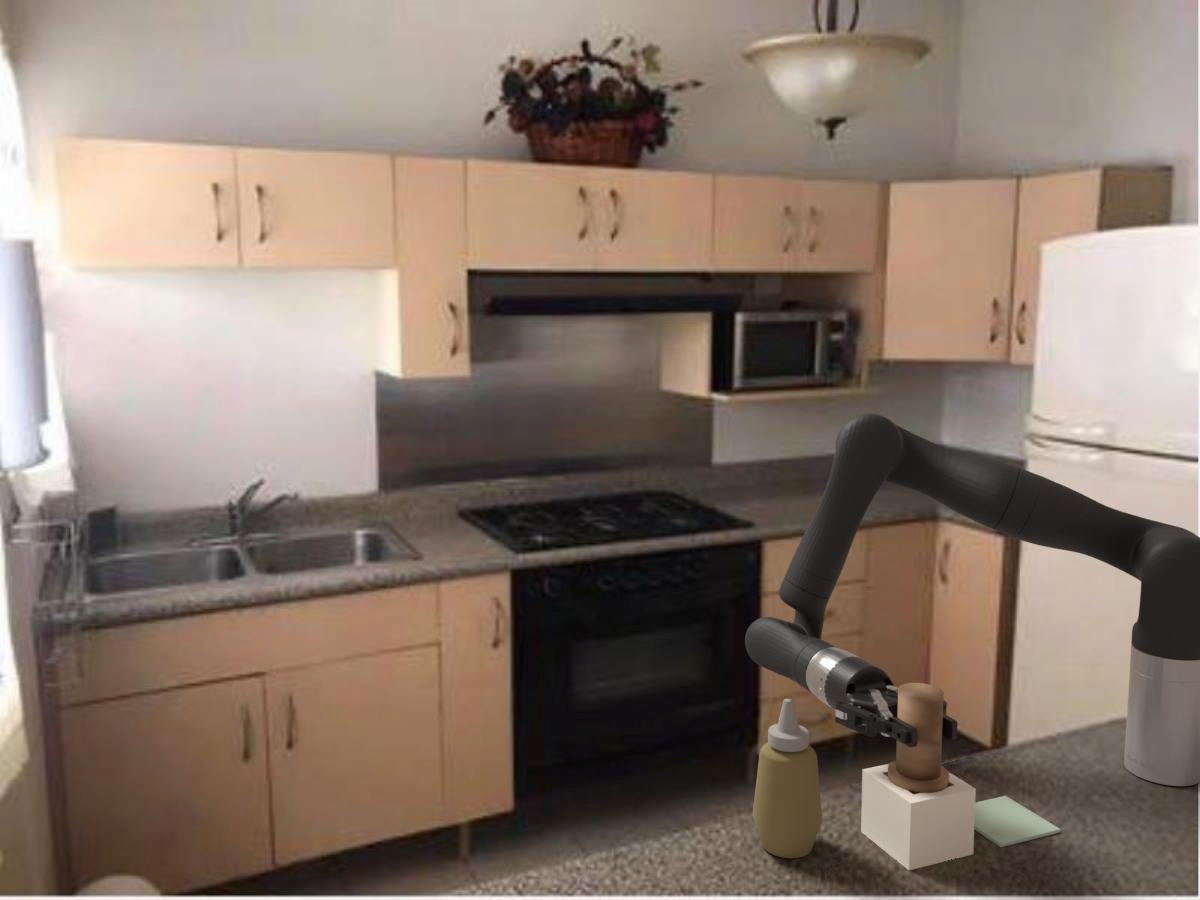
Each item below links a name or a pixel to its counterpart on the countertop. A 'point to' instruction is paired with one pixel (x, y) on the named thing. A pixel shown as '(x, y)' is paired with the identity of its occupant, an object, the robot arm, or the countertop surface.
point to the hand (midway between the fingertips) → (934, 734)
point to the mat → (1009, 822)
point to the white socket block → (918, 819)
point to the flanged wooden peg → (920, 740)
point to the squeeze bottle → (787, 789)
